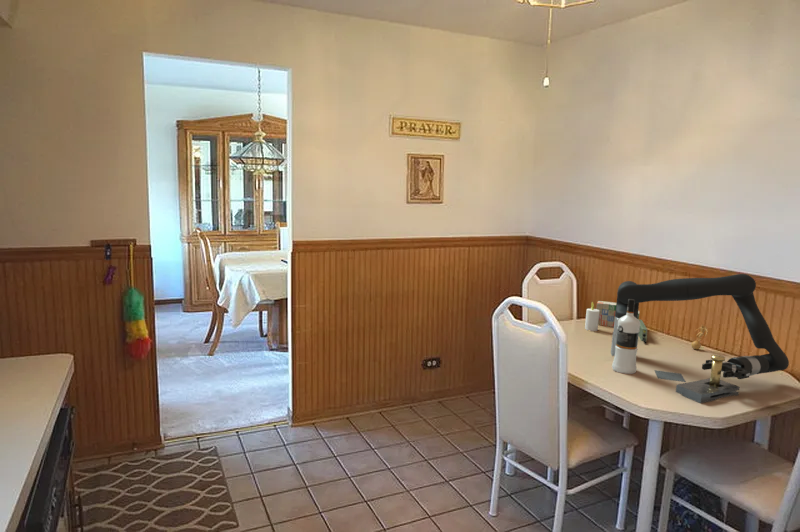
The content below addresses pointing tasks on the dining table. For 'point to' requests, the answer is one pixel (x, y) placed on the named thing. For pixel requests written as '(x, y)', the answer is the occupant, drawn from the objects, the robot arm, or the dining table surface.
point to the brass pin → (716, 370)
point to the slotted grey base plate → (706, 390)
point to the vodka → (627, 342)
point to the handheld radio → (643, 332)
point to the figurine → (696, 343)
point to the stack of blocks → (607, 313)
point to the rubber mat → (669, 376)
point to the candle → (592, 319)
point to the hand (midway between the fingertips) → (713, 370)
